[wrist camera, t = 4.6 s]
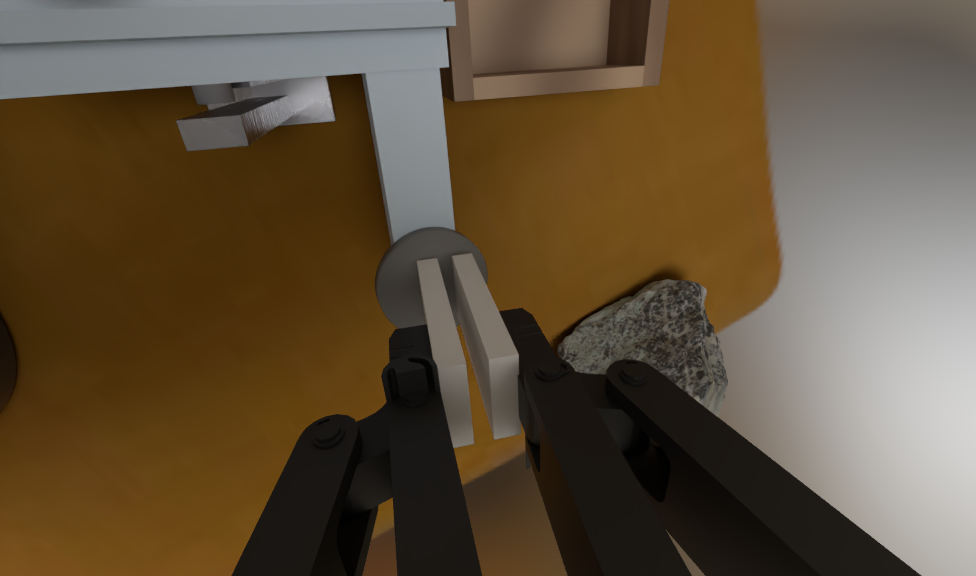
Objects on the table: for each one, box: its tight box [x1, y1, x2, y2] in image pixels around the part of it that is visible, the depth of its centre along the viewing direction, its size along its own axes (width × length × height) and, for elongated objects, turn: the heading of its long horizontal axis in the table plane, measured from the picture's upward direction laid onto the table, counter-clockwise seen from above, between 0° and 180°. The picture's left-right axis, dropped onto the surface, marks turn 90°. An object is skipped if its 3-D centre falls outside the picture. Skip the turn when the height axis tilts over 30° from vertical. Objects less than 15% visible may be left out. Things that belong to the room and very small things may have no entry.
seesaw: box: [0, 0, 487, 328], centre depth 12 cm, size 15×18×3 cm
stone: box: [557, 279, 728, 417], centre depth 28 cm, size 10×10×10 cm
